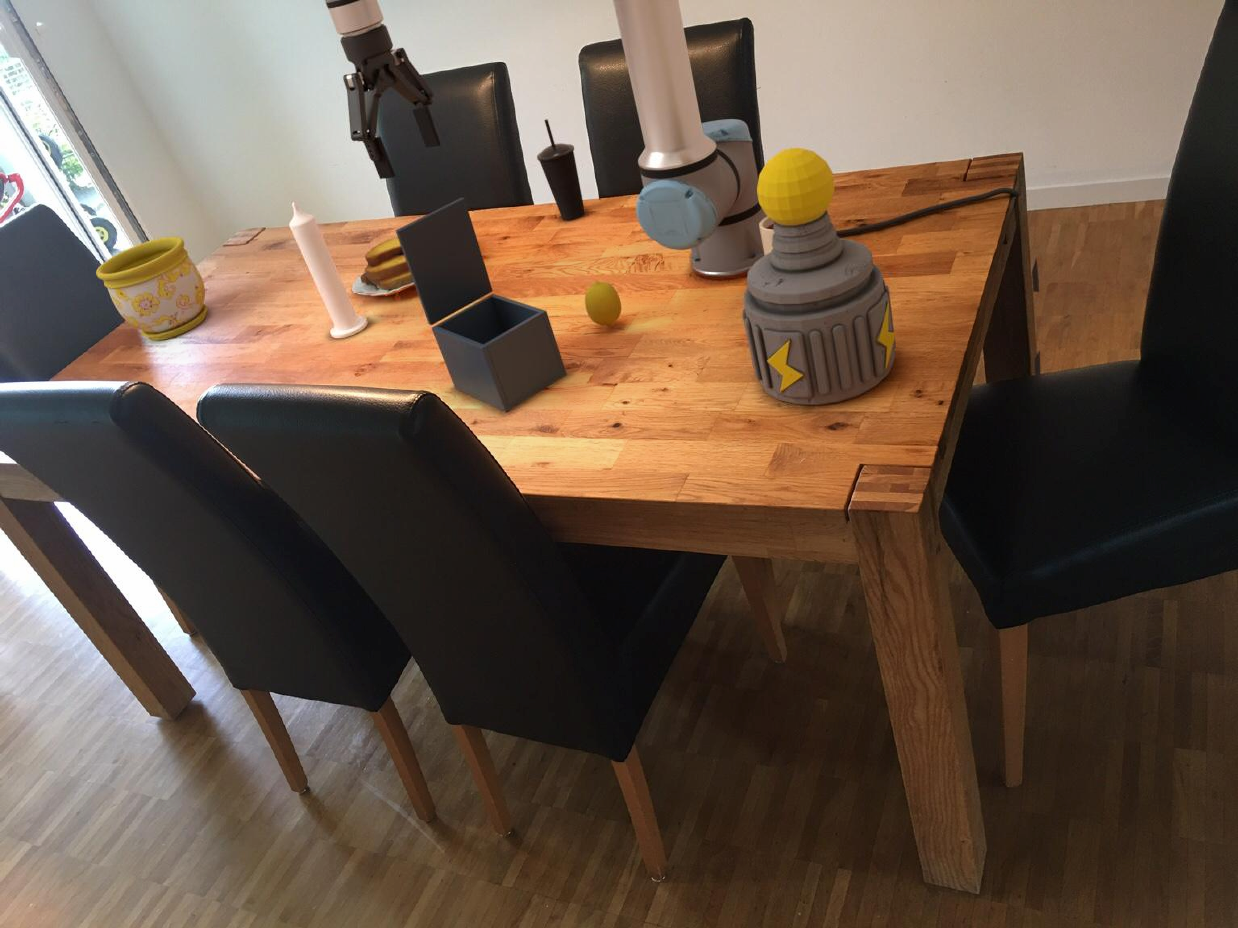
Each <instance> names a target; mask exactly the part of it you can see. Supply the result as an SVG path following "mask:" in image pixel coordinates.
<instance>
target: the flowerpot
mask: <svg viewBox="0 0 1238 928" xmlns="http://www.w3.org/2000/svg"><path fill="white" fill-rule="evenodd" d="M188 254H189V252H188V250H187V249H186V248H185V241H184V240H183V238H182V237H179V236H165V237H159V238H156V239H155V238H154V239H152V240H149V241H145V242H143V243H140V244H137V245H135V246H132V247H129V248H127V249H125V250H123V251H121V252H118V253H117V254H115V255H113V256H112V257H110V258H108V259H107V260H105V261H104V262H103V263H102V264H100V265H99V266H98V268H97V269H96V272H95V273H96V274H95V275H96V277H97V278H98V279H99V280H101V281H103V285H104V287H105V288H107V291H108V293H109V296H110V299H111V301H112V303H113V304H114V306H115V308H116V310H117V311H118V313H119V314H120V316H121V317H122V318H123V319H124V320H125V322H127V323H129V324H130V325H131V326H133V327H134V328H136V329H138V330H141V332H140V334H141V336H142V337H144V338H148V339H149V340H152V341H163V340H167V339H168V340H169V339H171V338H174V337H177V336H179V335H182V334H185V333H187V332H189V331H190V330H192V329H194V328H195V327H197V326H198V325H200V324H201V323H202V322H203V321H205V319H206V316H207V312H208V305H207V304H205V300H206V299H205V297H206V289H205V288H206V287H205V283H204V280H203V277H202V275H201V273H200V271H199V269H198V268H197V266H196V265H195V263H194V262H193V260H192V259H191V258H190V256H189V255H188Z"/></svg>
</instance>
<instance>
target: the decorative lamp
mask: <svg viewBox="0 0 1238 928" xmlns="http://www.w3.org/2000/svg"><path fill="white" fill-rule="evenodd" d="M758 180H759V181H758V186H757V194H758V199H759V204H760V206H761V207H762V209H763V210H764V212H765V214H766V215H767V216H768V217H769V218H770V219H772V220H773V221H774V227H773V231H774V232H775V233H774V234H773V238H772V247H773V249H772V250H771V252H770V253H768V254H766V255H765V256H763V257H762V258H761V259H759V260H758V261H757V262H755V263H754V265H753V266H752V267H751V269H750V270H749V271H748V275H747V276H746V285H747V290H746V291H745V293H744V296H743V307H744V308H743V309H742V311H741V312H742V313H741V315H742V319H743V320H742V321H743V323H744V324H743V325H744V330H745V334H746V339H747V345H748V348H749V353H750V358H751V363H752V368H753V371H754V375H755V378H756V380H757V381H759V383H760V386H761V387H762V389H763V390H764V392H765V393H766V394H768V395H770V396H771V397H773V398H774V399H776V400H778V401H781V402H785V403H789V404H793V405H798V406H821V405H829V404H836V403H837V404H838V403H840V402H844V401H847V400H850V399H853V398H856V397H859V396H861V395H862V394H865V393H866V392H868V391H870V390H872V389H874V388H875V387H877V386H878V384H879V383H881V382H882V381H883V379H885V378H886V377H887V376H888V375H889V373H890V371H891V369H892V367H893V365H894V360H895V359H896V347H897V344H896V336H897V335H896V334H897V333H896V332H895V327H894V320H893V313H892V312H893V311H892V303H891V295H890V288H889V286H888V285H887V284H886V280H885V279H884V277H883V270H882V269H881V268H880V267H878V266H877V265H876V264H875V263H874V259H873V254H872V251H871V249H869V248H868V247H867V246H866V245H865V244H864V243H863V242H859V241H856V240H853V239H851V238H842V237H840V236H837V235H836V231H837V229H836V227H835V224H834V223H833V222H832V221H831V216H830V214H829V212H828V208H829V207H830V205H831V204H832V202H833V198H834V193H835V188H836V187H835V181H834V175H833V171H832V169H831V167H830V165H829V163H828V162H827V161H826V160H825V159H824V158H823V157H822V156H820V155H819V154H818V153H816V152H815V150H809V149H805V148H802V147H791V148H785V149H783V150H781V151H779V152H778V153H777V154H775V155H774V156H772V157H771V158H770V159H768V160H767V162H766V163H765V164H764V166H763V168H762V170H761V171H760V173H759V175H758Z"/></svg>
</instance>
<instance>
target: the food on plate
mask: <svg viewBox="0 0 1238 928" xmlns="http://www.w3.org/2000/svg"><path fill="white" fill-rule="evenodd" d="M364 258H365V261H366V262H367V265H366V267H365V268H364V271H363V272H362V273H361V274H359V275H358V277H357V278H356V279H355V280H354V282H353V284H352V285H351V290H350V291H351V293H353V294H354V293H355V294H358V295H363V296H370V297H374V298H375V297H378V296H381V297H382V296H385V297H387V296H390V295H394V296H395V297H394V299H395V300H399V299H400V298H401V296H400V295H399V292H401V291H405V290H406V289H408V288H411V287H415V284H414V281H413V278H412V276H411V273H410V270H409V267H408V264H407V262H406V259H405V256H404V253H403V250H402V248H401V245H400V242H399V239H398V236H396V237H395V236H394V237H392V238H389V239H387V240H384V241H382V242H381V243H378V244H377V245H375V246H373V247H372V248H370V249H369V250H368V251H367V252H366V253H365V256H364ZM365 303H366V302H365V301H363V302H362V304H365Z"/></svg>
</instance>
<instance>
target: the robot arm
mask: <svg viewBox="0 0 1238 928" xmlns="http://www.w3.org/2000/svg"><path fill="white" fill-rule="evenodd" d="M324 1H325V5H326V7H327V9H328V12H329V14H330V17H331V20H332V22H333V25H334V28H335V30H336V33H337V34H338V35H341V36H342V37H341V38H340V42H339V43H340V44H341V47H342V50H343V52H344V54H345V57H346V59H347V61H348V62H349V63H352V64H353V66H354V69H355V70H354V71H355V72H353V73H347V74H344V75H343V76H342V79H343V83H344V86H345V89H346V95H347V107H348V108H347V109H348V121H349V133H350V140H352V142H362V143H363V144H364V147H365V150H366V152H367V155H368V157H369V159H370V160H371V161H372V162H373V164H374V167H375V170H376V172H377V175H378V177H379V180H385V179H392V178H395V177H396V174H395V170H394V168H393V165H392V163H391V160H390V157H389V156H388V153H387V150H386V147H385V145H384V142H383V139H382V137H381V136H377V129H378V116H379V106H380V104H379V103H380V98H382V96H383V93H384V92H387V90H388V89H389V88H392V89H393V90H395V92H397V93H398V94H399V95H401V96H402V97H403V98H404V99H406V100H407V101H408V102H409V103H410V104H411V105H413V106H414V107H415V108H413V109H412V110H411V111H412V113H413V116H414V120H415V122H416V125H417V127H418V130H419V133H420V135H421V138H422V141H423V144H424V146H425V148H434V147H439V146H440V145H441V141H440V138H439V135H438V132H437V130H436V127H435V123H434V118H433V115H432V113H431V110H430V107H429V106H431V105H432V106H433V103H434V102H433V98H434V91H433V90H432V89H431V87H430V86H429V85H428V83H427V82H426V81H425V79H424V78H423V77H422V75H421V74H420V73H419V71H418V70H417V68H416V67H415V66H414V64H413V63H412V62H411V61H410V59H409V56H408V54H407V53H406V50H405V48H404V47H399V48H398V47H397V48H394V49H393V47H394V44H393V41H392V38H391V35H390V32H389V30H388V27H387V25H385V24H384V23H382V22H383V21H384V14H383V12H382V10H381V6H380V4H379V2H378V0H324ZM612 1H613V7H614V10H615V11H614V12H615V16H616V20H617V25H618V28H619V33H620V38H621V44H622V47H623V52H624V56H625V57H624V58H625V61H626V65H627V71H628V75H629V79H630V80H629V81H630V85H631V89H632V93H633V98H634V102H635V107H636V111H637V115H638V120H639V125H640V129H641V134H642V138H643V139H642V140H643V144H644V149H643V151H642V152H641V154H640V155H639V157H638V159H637V164H638V168H639V172H640V178H641V181H642V186H643V188H642V189H641V191H640V193H639V195H638V197H637V200H636V205H635V213H636V214H635V215H636V219H637V222H638V224H639V226H640V228H641V229H642V230H643V232H644V233H645V235H646V236H648V237H649V239H650V240H652V241H655V242H656V243H658V245H659V246H662V247H664V248H665V249H670V250H674V251H675V250H676V251H686V250H690V265H691V269H692V273H694V275H695V276H697V277H698V278H701V279H704V280H709V281H730V280H736V279H741V278H745V277H747V275H748V271H749V270H750V269H751V267H752V266H753V265H754V263H755V262H757V261H758V260H759V259H761V258H762V257H763V256H765V254H764V249H763V244H762V238H761V233H760V227H759V223H760V222H761V221H762V220H763V219H764V218H766V217H767V215H766V214H765V212H764V210H763V209H762V207H761V206H760V204H759V199H758V194H757V186H758V181H759V175H758V169H757V164H756V159H755V153H754V148H753V138H752V137H751V134H750V130H749V127H748V125H747V123H746V122H745V121H744V120H741V119H735V118H728V119H717V120H716V119H715V120H711V121H706V122H702V120H701V115H700V110H699V109H700V108H699V104H698V99H697V93H696V87H695V82H694V78H693V77H694V76H693V72H692V71H693V70H692V67H691V66H692V65H691V61H690V55H689V49H688V45H687V40H686V34H685V29H684V22H683V17H682V13H681V6H680V0H612ZM1003 194H1004V195H1005V194H1007V195H1011V196H1012V197H1021V196H1022V193H1021V192H1020V191H1018V190H1017V189H1014V188H1012V187H999V188H995V189H993V190H990V191H987V192H984V193H981V194H977V195H972V196H967V197H963V198H959V199H954V200H950V201H947V202H943V203H938V204H936V205H932V206H928V207H925V208H921V209H918V210H915V211H911V212H908V213H905V214H903V215H900V216H897V217H894V218H891V219H886V220H884V221H879V222H875V223H871V224H867V225H862V226H857V227H852V228H847V229H846V228H845V229H840V230H836V235H837V236H838V237H844V236H850V235H855V234H861V233H866V232H871V231H874V230H879V229H883V228H886V227H890V226H892V225H893V226H894V225H896V224H899V223H902V222H903V223H904V222H905V221H908V220H912V219H914V218H918V217H921V216H924V215H927V214H930V213H934V212H938V211H943V210H947V209H949V208H953V207H959V206H962V205H966V204H970V203H975V202H980V201H983V200H987V199H989V198H993V197H996V196H998V195H1003ZM1031 278H1032V290H1033V291H1032V292H1033V293H1039V292H1040V283H1039V282H1040V281H1039V280H1040V279H1039V269H1038V258H1037V257H1036V258H1035V260H1034V264H1033V267H1032V270H1031ZM1037 374H1038V375H1040V374H1041V350H1039V351H1038V352H1037V355H1036V356H1035V357H1034V376H1035V375H1037Z"/></svg>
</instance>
